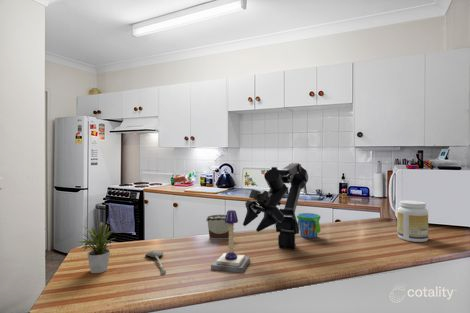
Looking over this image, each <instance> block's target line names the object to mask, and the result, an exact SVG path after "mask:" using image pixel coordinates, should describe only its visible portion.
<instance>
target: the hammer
mask: <svg viewBox="0 0 470 313" xmlns="http://www.w3.org/2000/svg"><path fill="white" fill-rule="evenodd" d="M163 254H164V252H163V251H161V250H158V249H157V250H155V249H154V250H150V251H149V252H146V254H145V256H149V257H152V258H155V259H156V260H157V262H158V264H159V266H160V275H164V274H165V275H166V274H167V271H166V270H165V269H164V267H163V264H162V262H161V260H160V258H159V257H160V256H162V255H163Z"/></svg>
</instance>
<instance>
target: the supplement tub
mask: <svg viewBox="0 0 470 313" xmlns="http://www.w3.org/2000/svg"><path fill="white" fill-rule="evenodd" d="M398 205H399V207H398V208H397V211H396V212H397V214H396V216H397V217H396V218H397V223H396V224H397V225H396V226H397V231H396V232H397V233H396V234H397V237H398V238H400V240H403V241H408V242H414V243H416V242H417V243H421V242H422V243H423V242H427V241H428V240H429V210H428V209H427V208H426V207H427V205H426V202H424V201H419V200H406V199H405V200H400V201H399V203H398Z"/></svg>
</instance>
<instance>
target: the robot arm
mask: <svg viewBox="0 0 470 313" xmlns="http://www.w3.org/2000/svg"><path fill="white" fill-rule="evenodd" d="M264 179H265V182H266V184H267V186H268V191H267V190H265V189H262V190H257V189H251V191H250V194H249V196H248V197H249V198H250V199H249V200H248V199H247V200H246V201H245V203H244V205H245V208H246V214H245V217H244V220H243V223H242V225H243V226H244V227H247V225H249V224H251V223H252V222H253V221H254V220H255V219H256V218H258V217H259V215H260V214H261V213H263V217H262V219H261V221H260V222H259V223H258V225H257V227H256V229H255V231H256V232H257V233H259V232H261V231H263V230H265V229H266V228H268V227H271V226H273V225H274V226H275V231H276V233H279V234H278V235H277V236H278V237H277V238H278V240H277V241H278V243H277V245H278V248H279V249H288V250H290V249H291V250H295V249H296V246H297V243H296V235H297V234H300V228H299V225H298V219H297V215H296V209H297V206H298V202H299V198H300V194H301V191H302V190H303V189H304V188H305V187H306V185H307V183H308V181H309V174H308V172H307V170H306V169H305V168H303V167H302V165H301V163H297V162H296V163H295V162H294V163H293V162H292V163H289V164H288V165H287V166H284V167H283V168H278V167H277V166H272V167H271V169H269V170H267V171H266V172H265V173H264ZM286 184H290V188H289V187H288V186H287V185H286ZM285 195H287V197H286V200H285V204H284V207H283V208H278V206H279V207H280V206H281V204H282V203H281V200H282V199H283V198H284V196H285ZM252 199H253V200H252Z"/></svg>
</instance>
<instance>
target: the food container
mask: <svg viewBox="0 0 470 313" xmlns="http://www.w3.org/2000/svg"><path fill="white" fill-rule="evenodd" d="M225 218H226V214H213V215H209V216H207V218H206V222H207V227H208V236H209V240H210V239H212V240H213V239H215V240H218V239H219V240H229V223H226V222H225Z"/></svg>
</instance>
